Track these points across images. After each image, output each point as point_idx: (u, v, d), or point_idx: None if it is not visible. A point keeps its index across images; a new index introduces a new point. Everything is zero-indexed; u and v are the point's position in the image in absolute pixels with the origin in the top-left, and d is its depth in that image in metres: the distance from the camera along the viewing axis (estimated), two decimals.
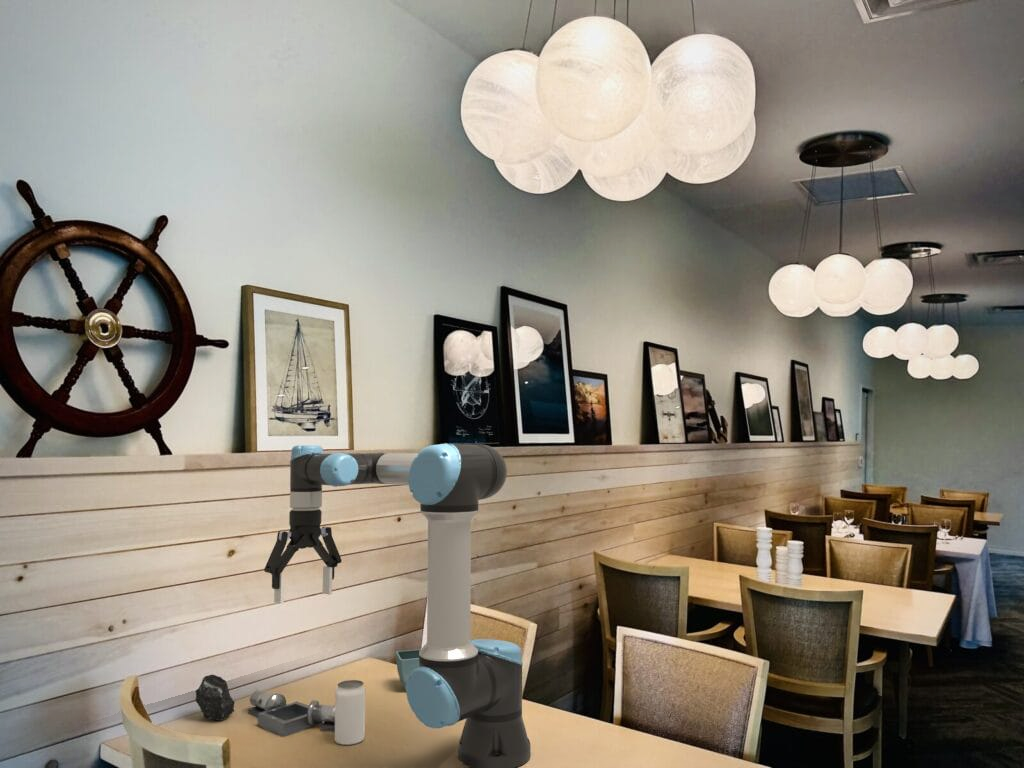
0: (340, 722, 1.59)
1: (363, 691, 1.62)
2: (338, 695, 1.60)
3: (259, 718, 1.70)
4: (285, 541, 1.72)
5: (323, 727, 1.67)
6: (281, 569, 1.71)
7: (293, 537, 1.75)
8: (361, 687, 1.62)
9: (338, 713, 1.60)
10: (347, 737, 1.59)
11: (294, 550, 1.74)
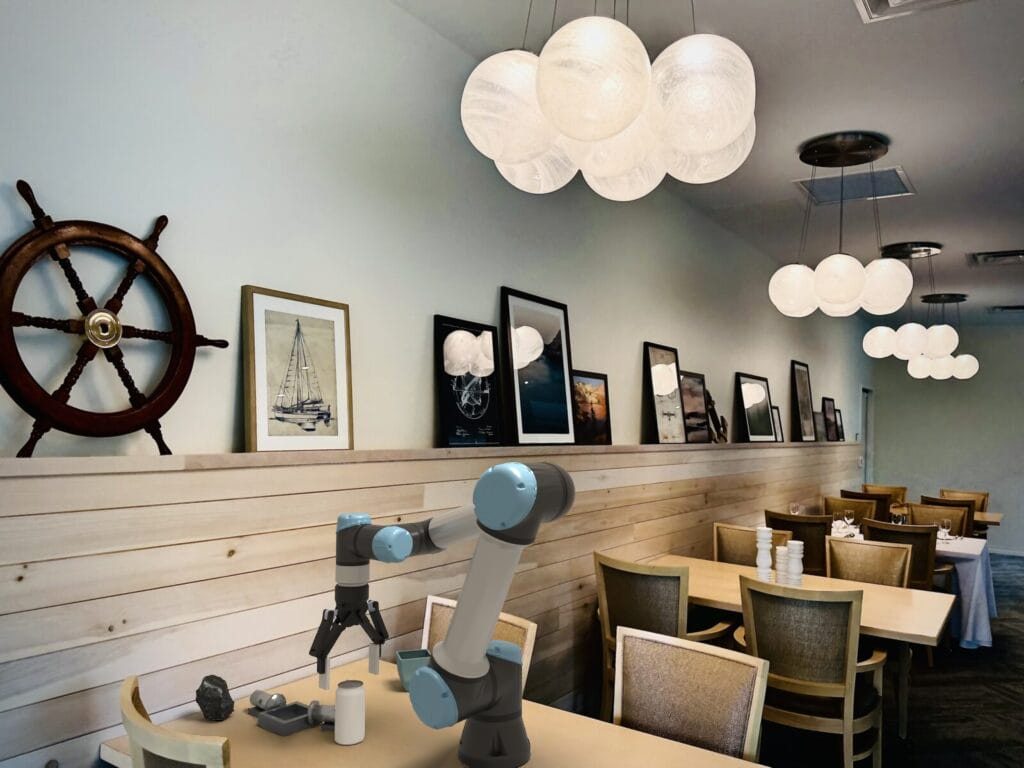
0: (340, 722, 1.59)
1: (363, 691, 1.62)
2: (338, 695, 1.60)
3: (259, 718, 1.70)
4: (331, 621, 1.58)
5: (323, 727, 1.67)
6: (327, 652, 1.57)
7: (339, 616, 1.61)
8: (361, 687, 1.62)
9: (338, 713, 1.60)
10: (347, 737, 1.59)
11: (340, 630, 1.60)
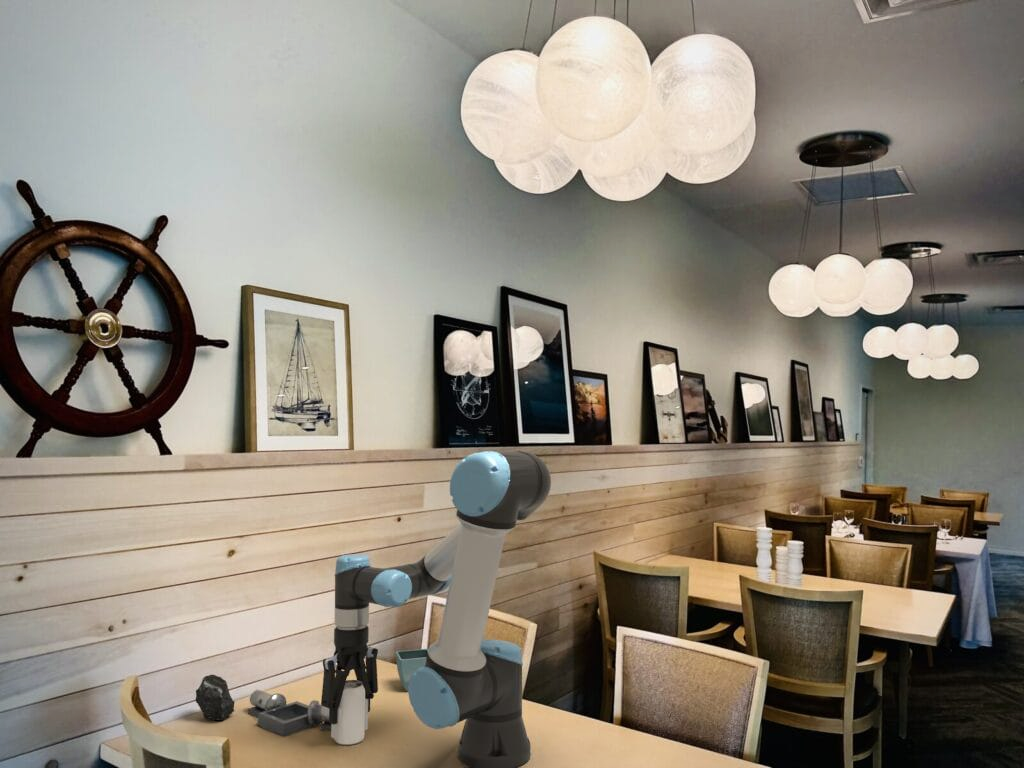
0: None
1: (363, 691, 1.62)
2: None
3: (259, 718, 1.70)
4: (333, 670, 1.58)
5: (323, 727, 1.67)
6: (338, 702, 1.59)
7: (339, 660, 1.60)
8: (361, 687, 1.62)
9: None
10: (347, 737, 1.59)
11: (345, 676, 1.60)
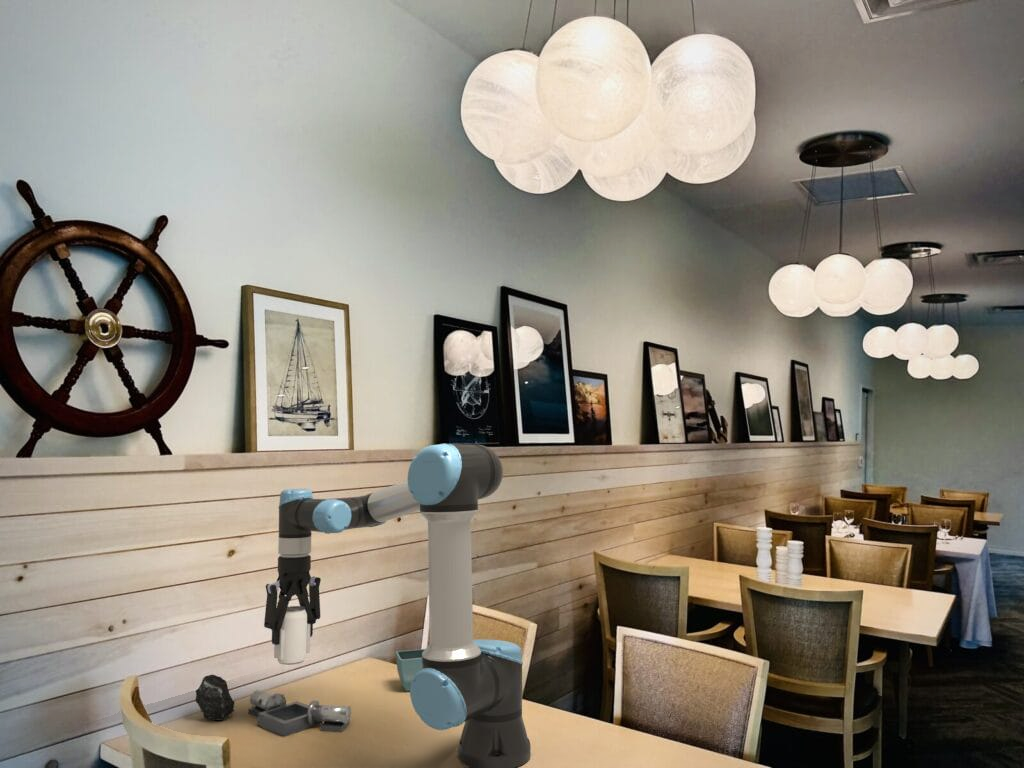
0: None
1: (305, 615, 1.72)
2: None
3: (259, 718, 1.70)
4: (276, 594, 1.68)
5: (323, 727, 1.67)
6: (280, 624, 1.69)
7: (281, 585, 1.70)
8: (303, 611, 1.72)
9: None
10: (288, 657, 1.69)
11: (287, 600, 1.70)
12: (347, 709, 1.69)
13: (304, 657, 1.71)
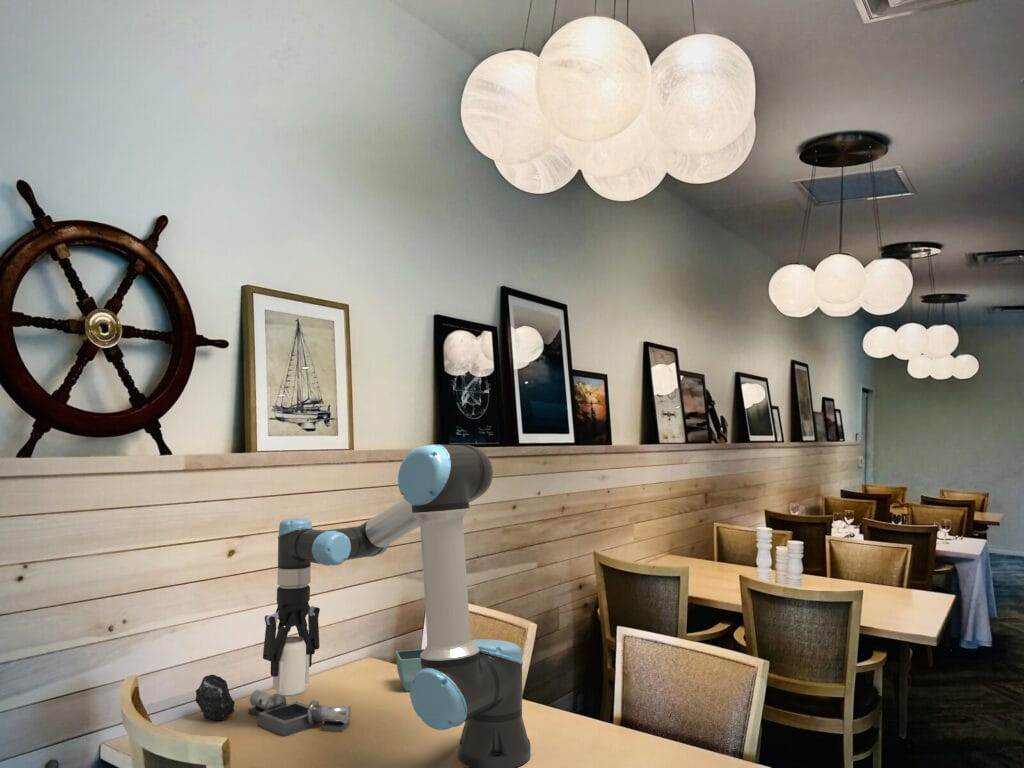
0: None
1: (304, 646, 1.72)
2: None
3: (259, 718, 1.70)
4: (274, 626, 1.68)
5: (323, 727, 1.67)
6: (279, 655, 1.68)
7: (280, 616, 1.69)
8: (302, 642, 1.72)
9: None
10: (287, 689, 1.68)
11: (286, 632, 1.70)
12: (347, 709, 1.69)
13: (303, 688, 1.71)
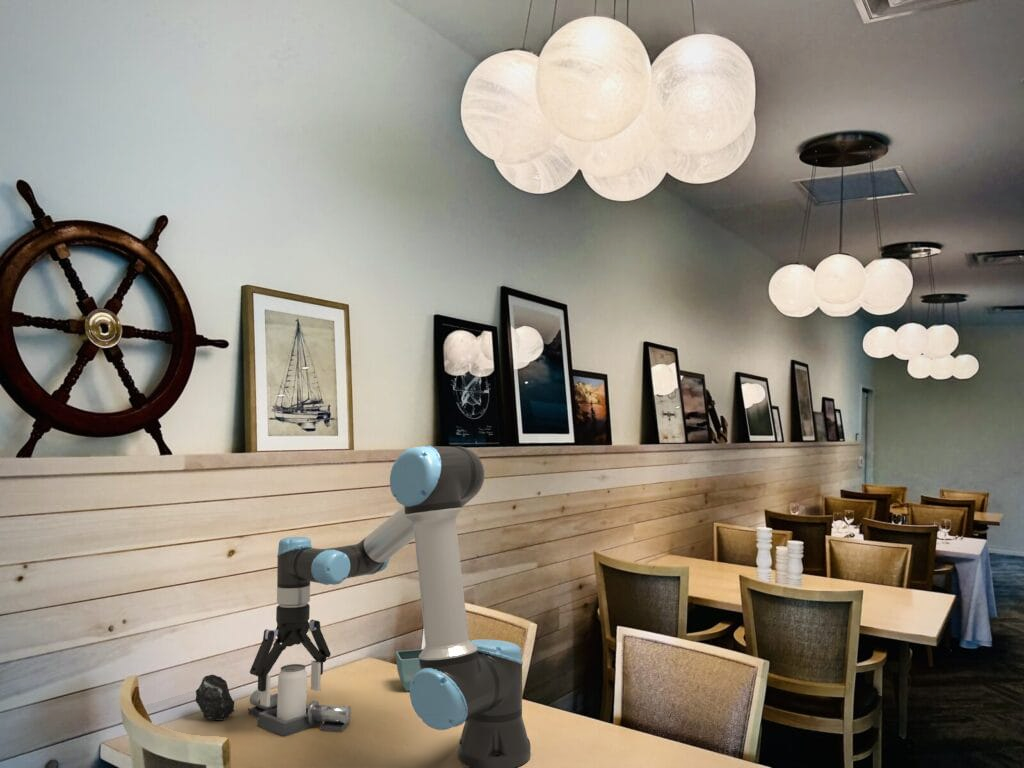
0: (281, 703, 1.68)
1: (304, 674, 1.71)
2: (281, 677, 1.69)
3: (259, 718, 1.70)
4: (271, 641, 1.67)
5: (323, 727, 1.67)
6: (267, 670, 1.66)
7: (280, 635, 1.69)
8: (303, 670, 1.71)
9: (280, 695, 1.69)
10: (288, 718, 1.68)
11: (281, 649, 1.69)
12: (347, 709, 1.69)
13: None
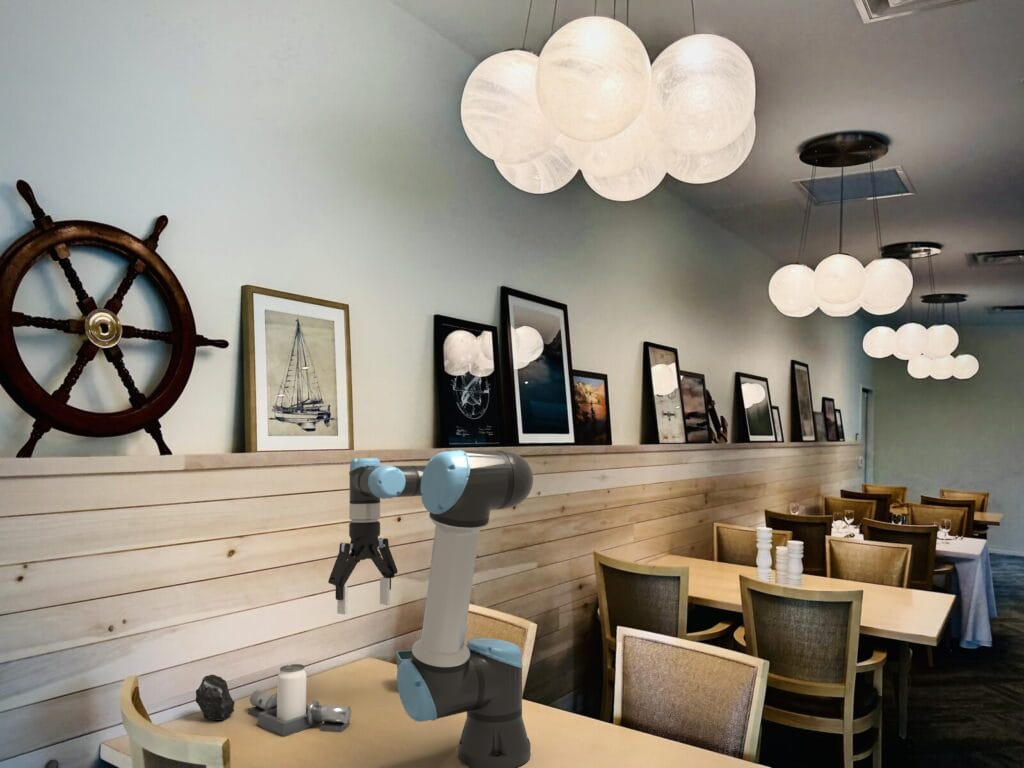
0: (281, 704, 1.68)
1: (304, 674, 1.71)
2: (280, 678, 1.69)
3: (259, 718, 1.70)
4: (348, 553, 1.75)
5: (323, 727, 1.67)
6: (345, 580, 1.74)
7: (355, 548, 1.77)
8: (302, 670, 1.71)
9: (279, 695, 1.69)
10: (288, 718, 1.68)
11: (356, 561, 1.77)
12: (347, 709, 1.69)
13: None
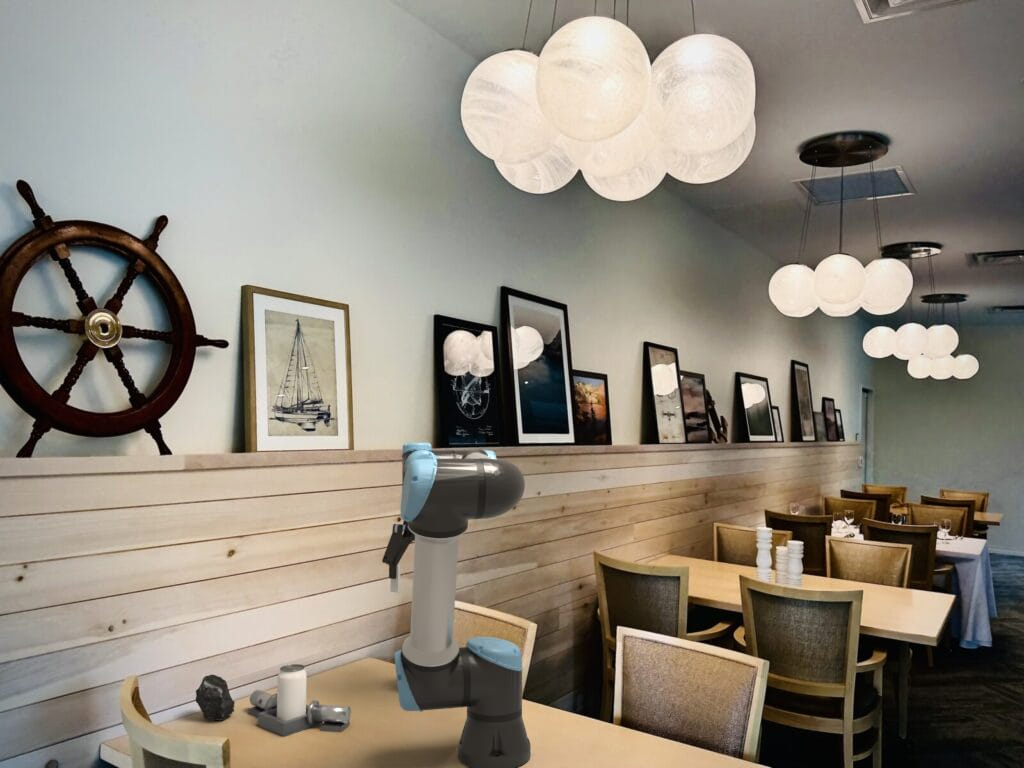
0: (281, 704, 1.68)
1: (304, 674, 1.71)
2: (280, 678, 1.69)
3: (259, 718, 1.70)
4: (401, 533, 1.81)
5: (323, 727, 1.67)
6: (398, 560, 1.80)
7: (407, 530, 1.84)
8: (302, 670, 1.71)
9: (279, 695, 1.69)
10: (288, 718, 1.68)
11: (408, 542, 1.83)
12: (347, 709, 1.69)
13: None
